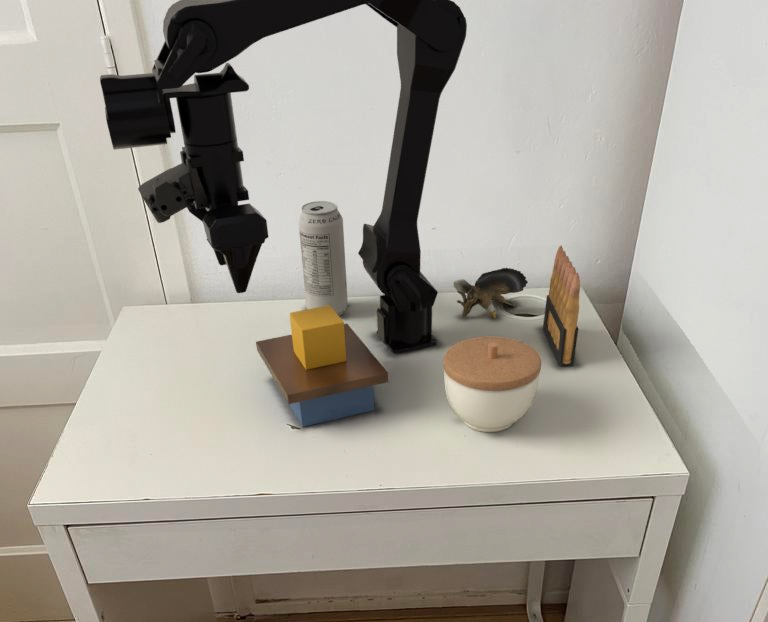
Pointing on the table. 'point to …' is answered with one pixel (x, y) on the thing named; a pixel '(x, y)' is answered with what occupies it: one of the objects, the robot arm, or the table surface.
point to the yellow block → (318, 337)
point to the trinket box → (491, 381)
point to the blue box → (334, 406)
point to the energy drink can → (323, 256)
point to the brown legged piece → (490, 289)
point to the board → (320, 369)
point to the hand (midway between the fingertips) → (232, 277)
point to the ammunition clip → (562, 310)
